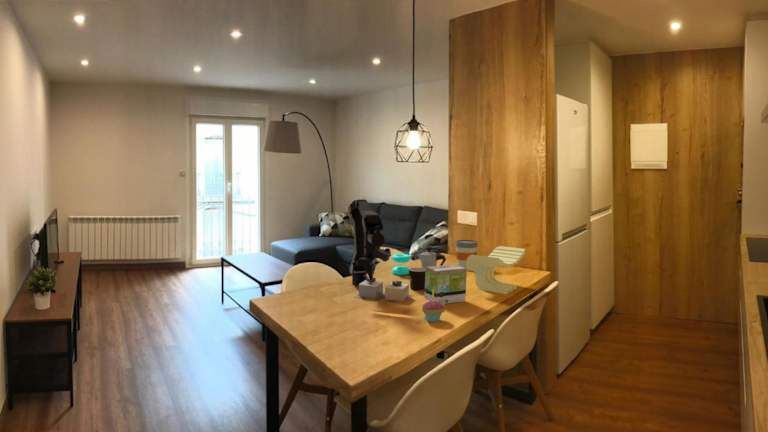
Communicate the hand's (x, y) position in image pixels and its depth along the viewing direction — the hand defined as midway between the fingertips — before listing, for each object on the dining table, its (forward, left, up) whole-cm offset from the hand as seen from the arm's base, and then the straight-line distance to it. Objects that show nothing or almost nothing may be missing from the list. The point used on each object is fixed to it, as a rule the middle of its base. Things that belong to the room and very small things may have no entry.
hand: (371, 278), depth 212 cm
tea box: (+32, +7, -9) cm, 33 cm away
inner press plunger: (0, 0, -7) cm, 7 cm away
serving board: (+6, 0, -8) cm, 10 cm away
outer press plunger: (+12, 0, -8) cm, 14 cm away
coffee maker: (+18, +35, -9) cm, 40 cm away
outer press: (+12, 0, -8) cm, 14 cm away
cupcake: (+34, -20, -9) cm, 40 cm away
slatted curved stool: (+49, +37, -9) cm, 62 cm away
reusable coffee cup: (+27, +78, -9) cm, 83 cm away
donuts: (-2, +49, -9) cm, 50 cm away
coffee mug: (+16, +20, -9) cm, 27 cm away
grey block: (0, 0, -8) cm, 8 cm away
